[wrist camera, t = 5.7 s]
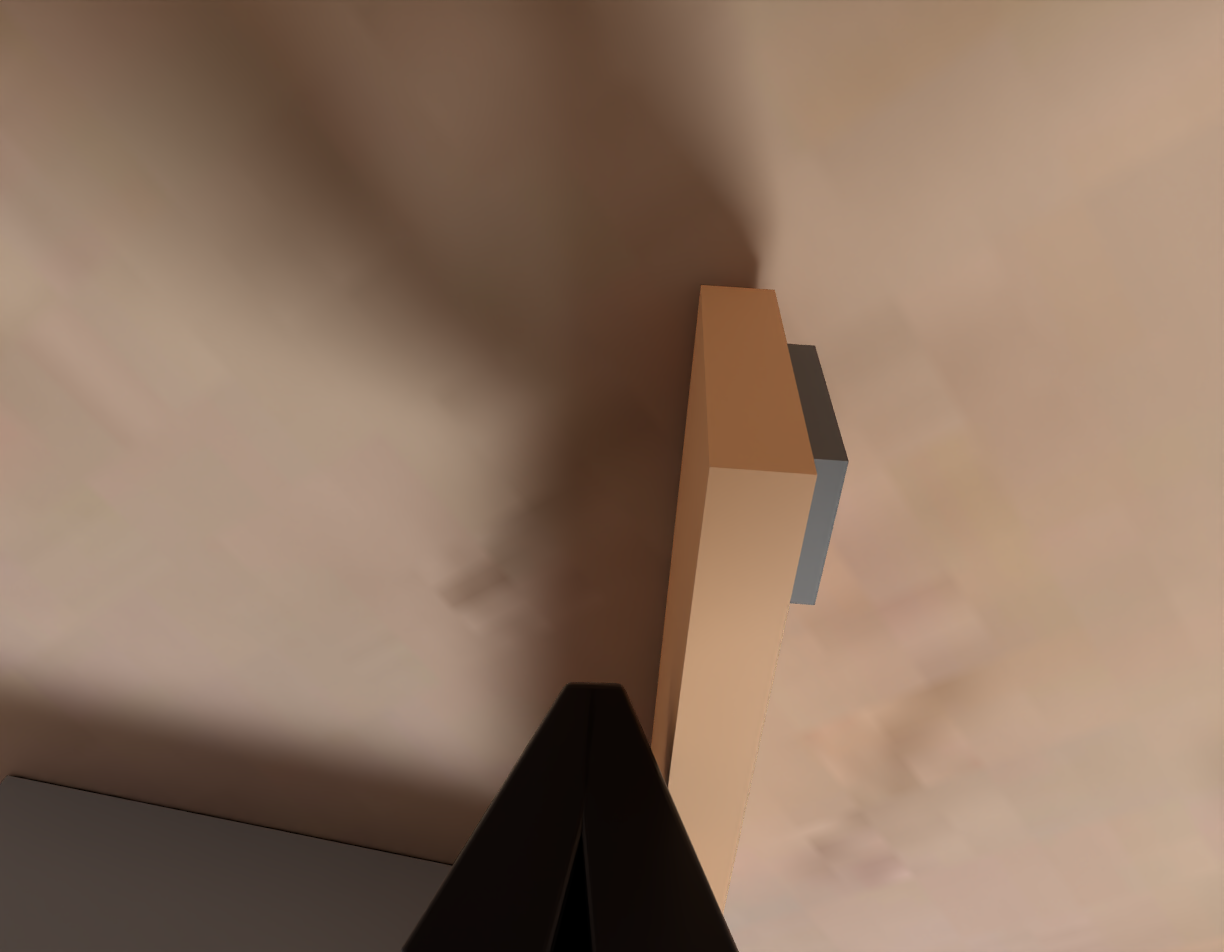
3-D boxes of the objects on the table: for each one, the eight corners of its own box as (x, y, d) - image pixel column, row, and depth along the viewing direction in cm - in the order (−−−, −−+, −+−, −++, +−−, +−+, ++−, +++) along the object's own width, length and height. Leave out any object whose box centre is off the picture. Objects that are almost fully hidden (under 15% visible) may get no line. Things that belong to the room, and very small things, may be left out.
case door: (634, 896, 16) (623, 1124, 13) (701, 284, 9) (709, 466, 6) (699, 903, 16) (703, 1131, 13) (812, 292, 9) (872, 478, 6)
